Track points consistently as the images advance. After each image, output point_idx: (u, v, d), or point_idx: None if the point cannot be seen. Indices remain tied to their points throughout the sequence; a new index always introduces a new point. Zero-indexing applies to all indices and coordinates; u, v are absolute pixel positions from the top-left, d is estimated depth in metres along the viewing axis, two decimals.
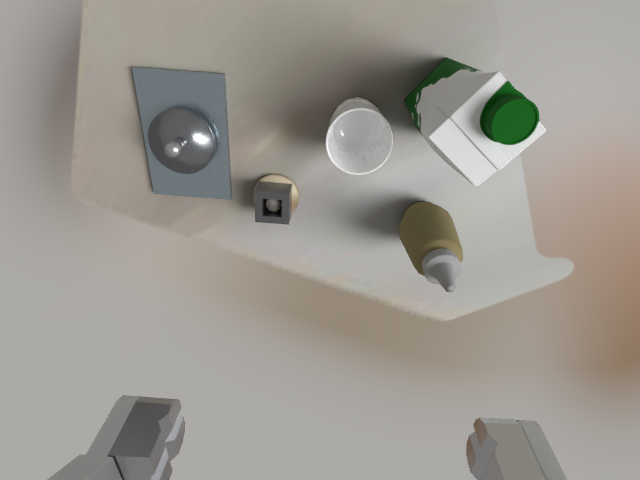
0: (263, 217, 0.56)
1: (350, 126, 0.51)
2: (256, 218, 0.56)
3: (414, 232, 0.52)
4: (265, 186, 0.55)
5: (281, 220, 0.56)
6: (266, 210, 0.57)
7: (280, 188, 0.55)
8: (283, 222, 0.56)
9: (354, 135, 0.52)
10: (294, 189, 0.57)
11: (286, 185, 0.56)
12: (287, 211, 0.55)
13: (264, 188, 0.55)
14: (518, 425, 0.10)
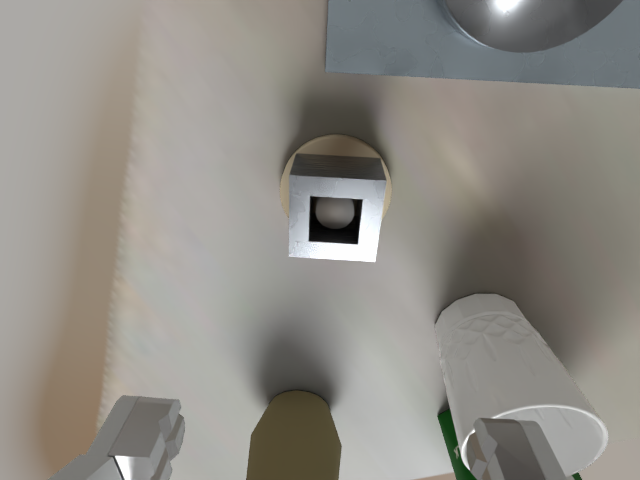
0: (304, 197, 0.20)
1: None
2: (300, 180, 0.19)
3: None
4: None
5: (299, 240, 0.21)
6: None
7: None
8: (293, 245, 0.21)
9: None
10: None
11: None
12: (325, 255, 0.22)
13: None
14: (518, 425, 0.10)
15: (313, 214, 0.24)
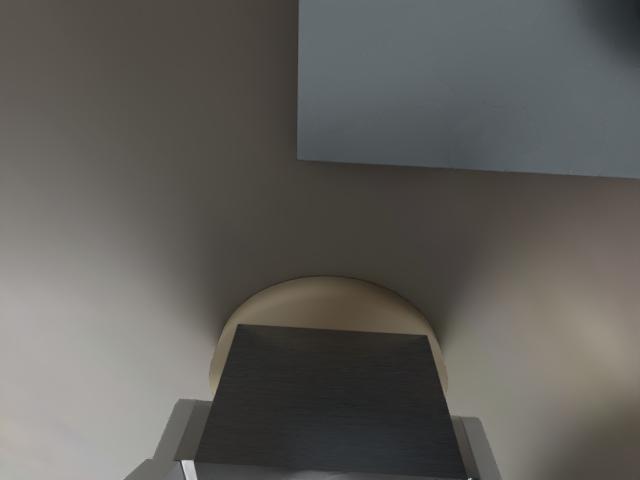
0: None
1: None
2: (227, 471, 0.07)
3: None
4: None
5: None
6: None
7: None
8: None
9: None
10: None
11: None
12: None
13: None
14: (460, 422, 0.10)
15: None
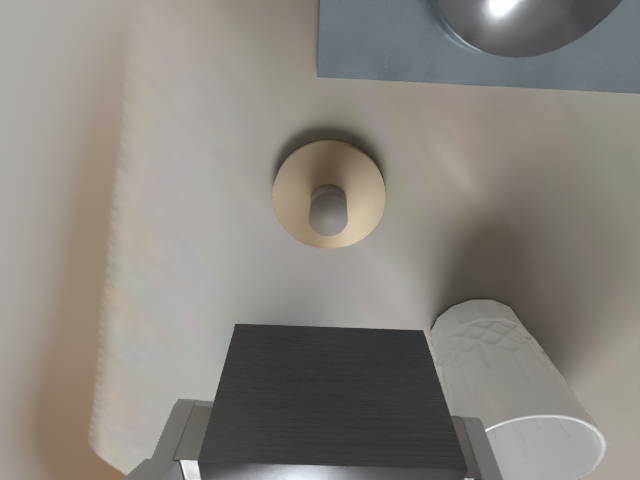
0: None
1: None
2: (231, 469, 0.07)
3: None
4: None
5: None
6: None
7: None
8: None
9: None
10: (350, 241, 0.25)
11: None
12: None
13: None
14: (461, 422, 0.10)
15: None
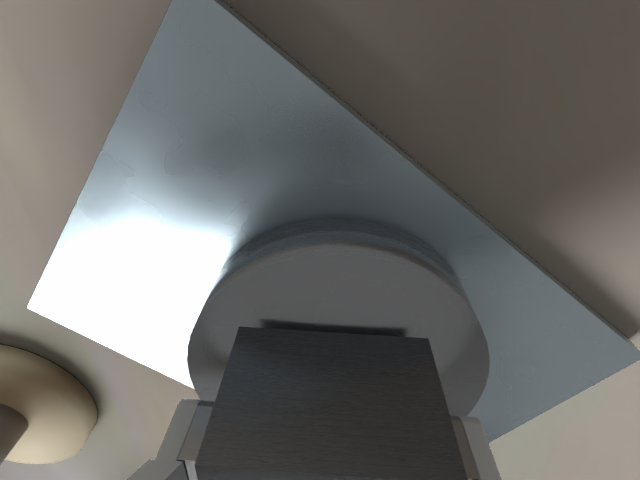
0: None
1: None
2: (228, 474, 0.07)
3: None
4: None
5: None
6: None
7: None
8: None
9: None
10: (21, 460, 0.18)
11: None
12: None
13: None
14: (459, 422, 0.10)
15: None
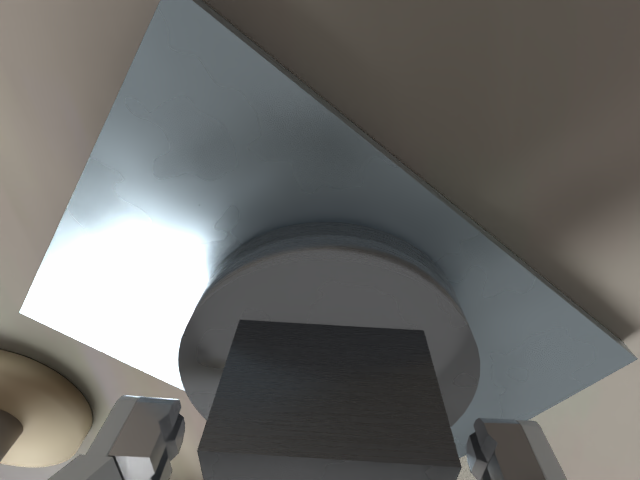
0: None
1: None
2: (230, 459, 0.07)
3: None
4: None
5: None
6: None
7: None
8: None
9: None
10: (17, 463, 0.18)
11: None
12: None
13: None
14: (519, 425, 0.10)
15: None
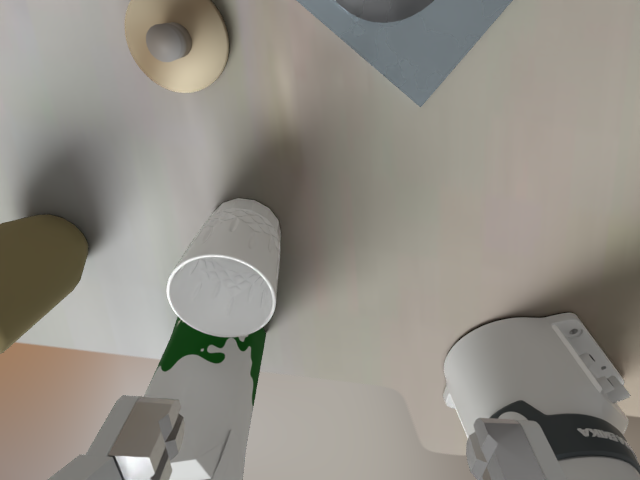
0: None
1: None
2: None
3: (28, 284, 0.29)
4: None
5: None
6: None
7: None
8: None
9: None
10: (179, 89, 0.28)
11: None
12: None
13: None
14: (518, 426, 0.10)
15: None
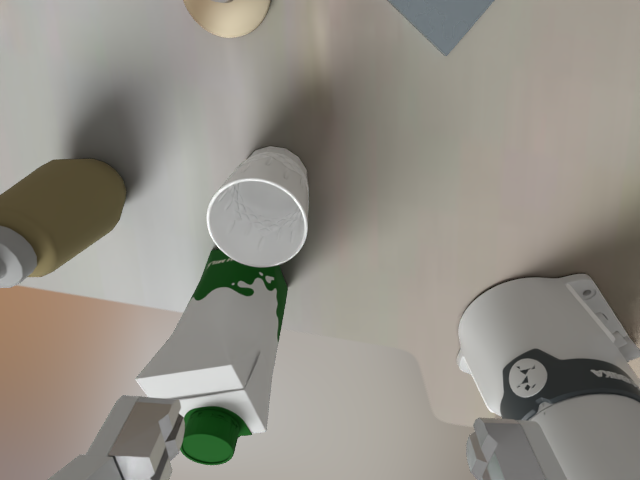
0: None
1: None
2: None
3: (77, 211, 0.31)
4: None
5: None
6: None
7: None
8: None
9: None
10: (223, 34, 0.31)
11: None
12: None
13: None
14: (518, 425, 0.10)
15: None
